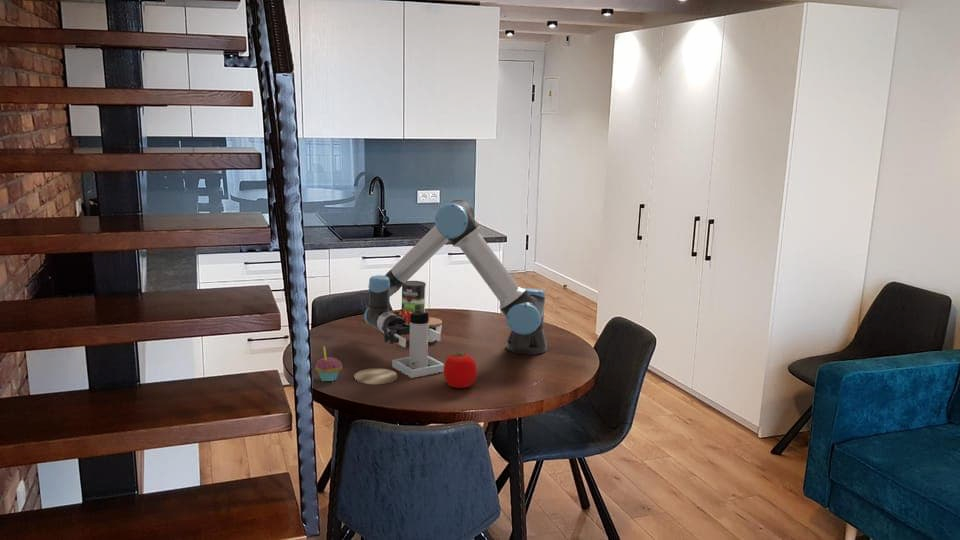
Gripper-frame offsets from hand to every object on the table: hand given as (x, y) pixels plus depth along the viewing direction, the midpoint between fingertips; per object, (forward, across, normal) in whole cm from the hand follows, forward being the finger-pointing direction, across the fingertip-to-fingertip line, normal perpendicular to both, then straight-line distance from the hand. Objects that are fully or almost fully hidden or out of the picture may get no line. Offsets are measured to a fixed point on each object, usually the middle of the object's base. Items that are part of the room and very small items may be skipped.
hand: (422, 340), depth 246 cm
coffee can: (-65, -35, -11) cm, 75 cm away
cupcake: (-8, +30, -11) cm, 33 cm away
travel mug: (-2, 0, -11) cm, 11 cm away
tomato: (+18, -3, -11) cm, 22 cm away
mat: (-3, +16, -11) cm, 20 cm away
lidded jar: (-30, -20, -11) cm, 38 cm away
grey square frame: (-2, 0, -11) cm, 11 cm away
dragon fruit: (-50, -21, -11) cm, 55 cm away
